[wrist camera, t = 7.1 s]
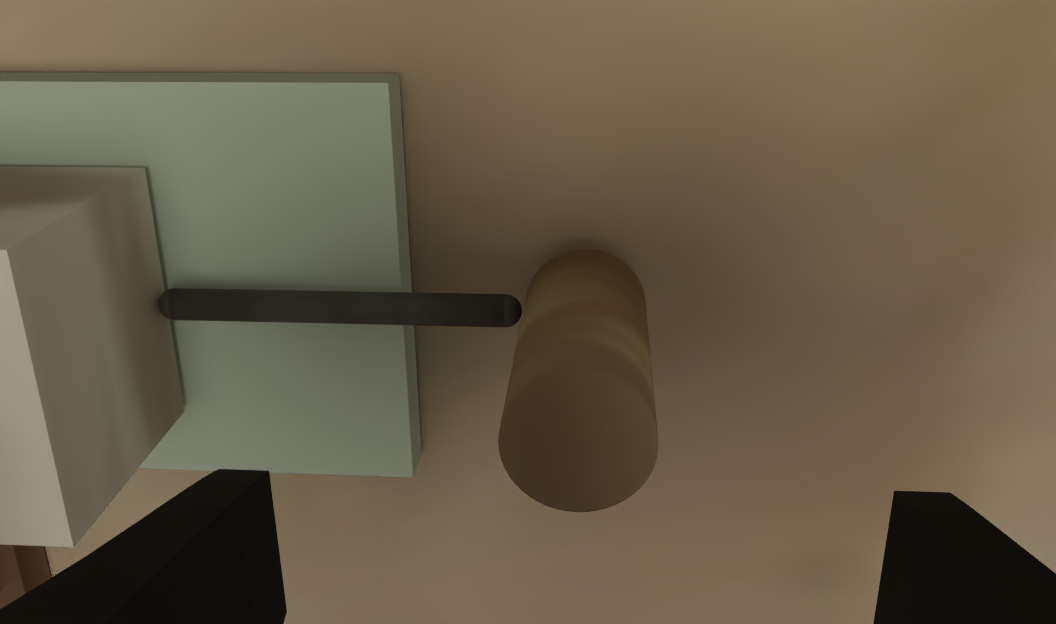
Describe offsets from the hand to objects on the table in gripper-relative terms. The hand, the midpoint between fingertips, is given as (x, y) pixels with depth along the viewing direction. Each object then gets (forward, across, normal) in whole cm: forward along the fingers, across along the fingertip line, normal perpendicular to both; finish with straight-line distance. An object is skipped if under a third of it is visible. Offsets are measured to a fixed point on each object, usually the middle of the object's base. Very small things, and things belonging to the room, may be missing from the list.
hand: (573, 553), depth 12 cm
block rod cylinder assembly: (+7, +6, 0) cm, 10 cm away
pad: (+9, +8, 0) cm, 12 cm away
